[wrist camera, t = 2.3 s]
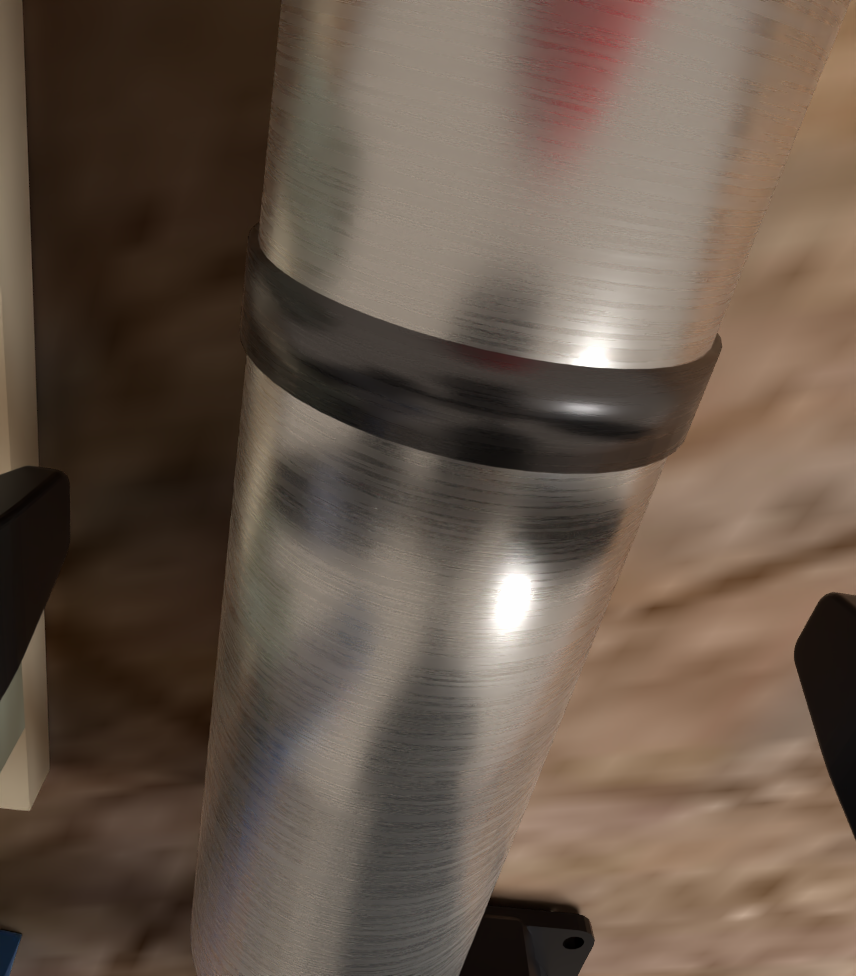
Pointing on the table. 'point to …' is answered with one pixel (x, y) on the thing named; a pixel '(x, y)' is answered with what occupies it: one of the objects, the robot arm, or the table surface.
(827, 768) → the robot arm
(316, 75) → the tube
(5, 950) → the milk carton
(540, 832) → the table surface
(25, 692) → the collar cradle
